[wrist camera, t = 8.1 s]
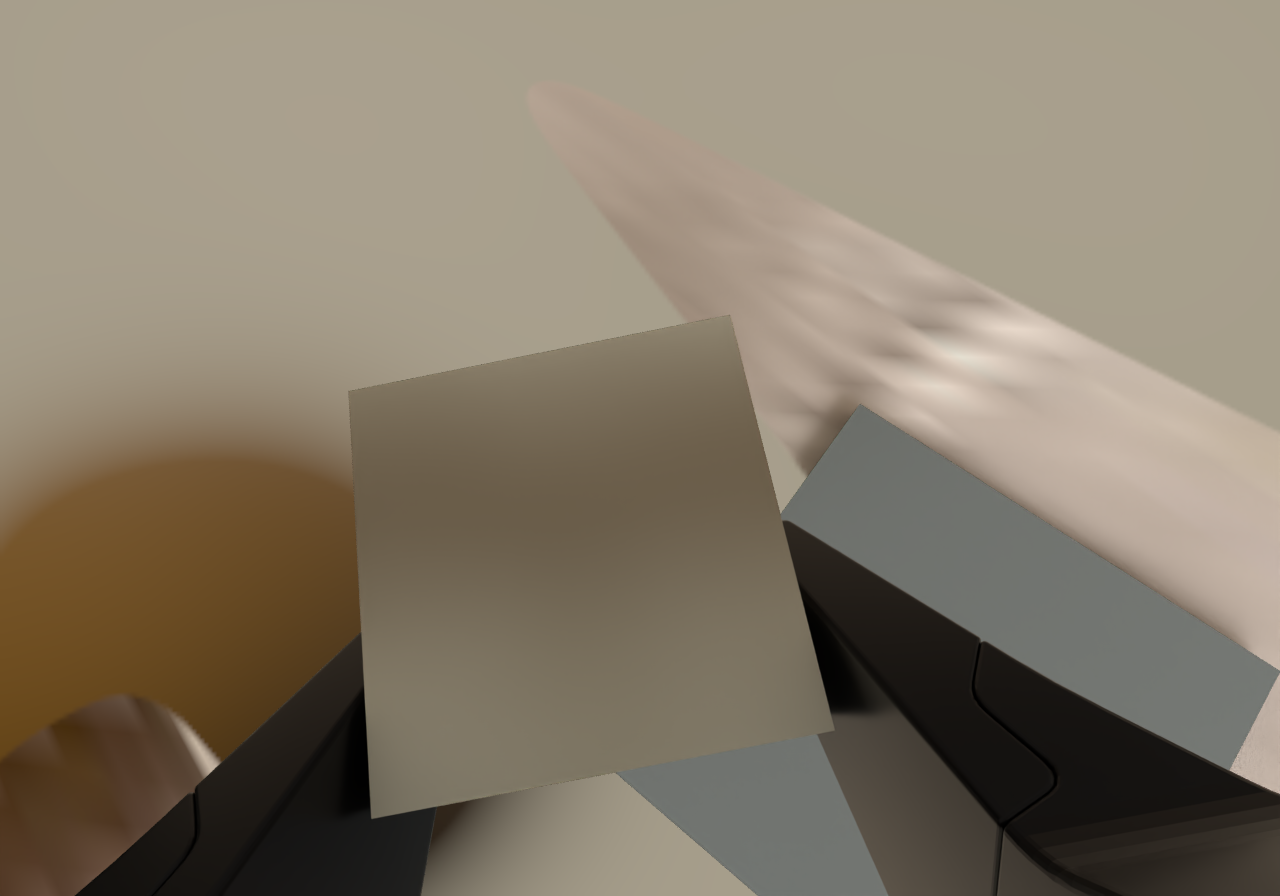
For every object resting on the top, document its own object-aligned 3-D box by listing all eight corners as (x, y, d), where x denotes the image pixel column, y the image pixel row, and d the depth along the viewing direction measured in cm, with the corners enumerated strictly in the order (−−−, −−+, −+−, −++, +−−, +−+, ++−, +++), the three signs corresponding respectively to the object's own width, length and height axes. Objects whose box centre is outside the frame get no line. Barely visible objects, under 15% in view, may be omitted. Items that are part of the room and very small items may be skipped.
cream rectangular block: (753, 691, 15) (835, 731, 6) (553, 729, 15) (371, 819, 7) (710, 496, 16) (730, 314, 8) (527, 531, 16) (348, 391, 8)
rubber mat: (1020, 1112, 18) (1039, 1138, 17) (606, 757, 21) (602, 761, 20) (1253, 670, 21) (1279, 671, 20) (853, 413, 24) (860, 403, 23)
